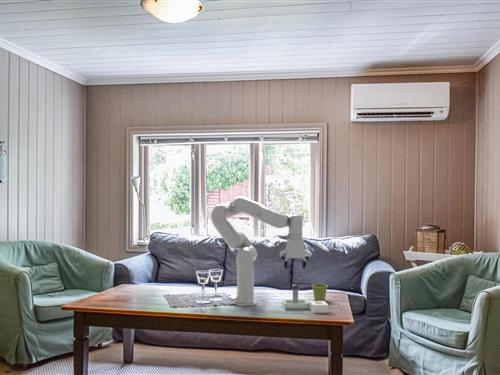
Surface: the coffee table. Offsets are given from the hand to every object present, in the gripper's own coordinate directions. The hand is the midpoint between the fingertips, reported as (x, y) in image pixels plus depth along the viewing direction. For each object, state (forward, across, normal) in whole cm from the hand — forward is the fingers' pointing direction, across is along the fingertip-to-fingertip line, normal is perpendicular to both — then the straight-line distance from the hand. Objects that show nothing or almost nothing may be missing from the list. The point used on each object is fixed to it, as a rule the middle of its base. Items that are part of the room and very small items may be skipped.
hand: (294, 268), depth 223 cm
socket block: (+21, +12, -8) cm, 25 cm away
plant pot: (+21, +18, +14) cm, 31 cm away
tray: (+21, +1, 0) cm, 21 cm away
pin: (+20, +1, 0) cm, 20 cm away
